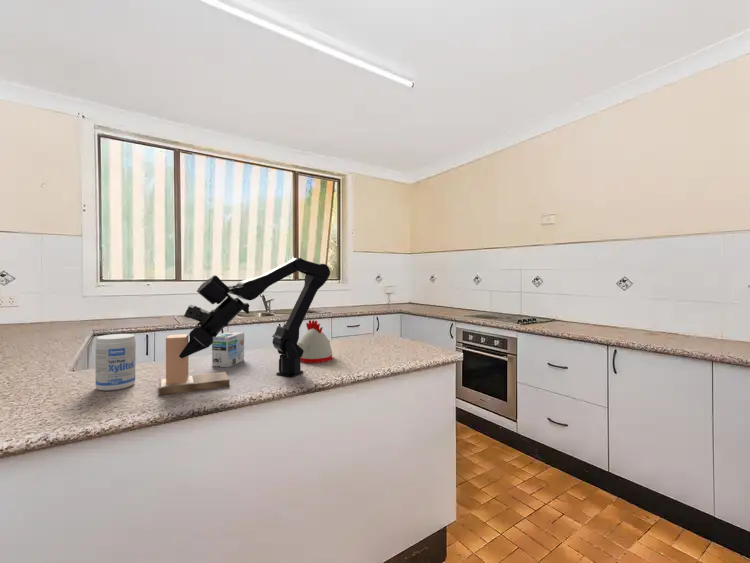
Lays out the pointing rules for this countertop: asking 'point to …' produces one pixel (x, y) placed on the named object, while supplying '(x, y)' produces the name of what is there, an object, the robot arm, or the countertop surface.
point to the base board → (195, 383)
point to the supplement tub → (115, 361)
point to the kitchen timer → (315, 345)
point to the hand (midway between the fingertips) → (182, 353)
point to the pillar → (176, 359)
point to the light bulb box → (228, 349)
